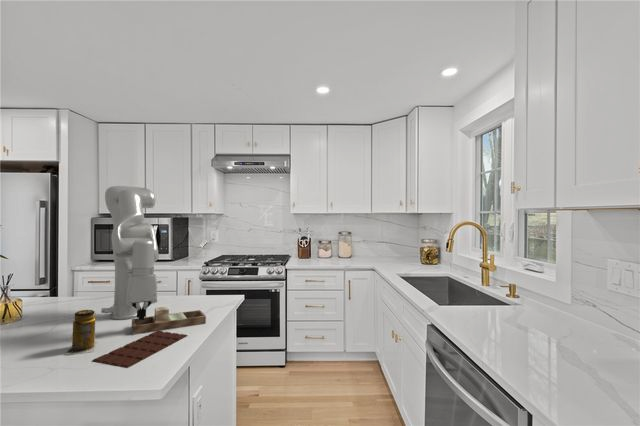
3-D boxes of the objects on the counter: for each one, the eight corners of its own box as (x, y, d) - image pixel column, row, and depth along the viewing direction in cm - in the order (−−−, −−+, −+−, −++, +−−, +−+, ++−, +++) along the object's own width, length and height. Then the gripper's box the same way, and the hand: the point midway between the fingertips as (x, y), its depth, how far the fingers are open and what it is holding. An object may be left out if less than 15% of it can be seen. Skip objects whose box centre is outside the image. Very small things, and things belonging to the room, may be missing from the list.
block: (155, 321, 127) (156, 310, 127) (154, 317, 131) (154, 307, 131) (168, 319, 129) (168, 309, 129) (166, 316, 133) (167, 306, 133)
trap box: (133, 334, 120) (133, 326, 120) (131, 326, 129) (131, 318, 129) (205, 323, 135) (205, 316, 135) (199, 316, 143) (200, 310, 143)
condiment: (97, 342, 113) (98, 307, 113) (93, 352, 105) (94, 314, 105) (71, 345, 109) (72, 309, 109) (65, 355, 102) (66, 317, 102)
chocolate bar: (157, 332, 124) (157, 329, 124) (187, 337, 121) (187, 334, 121) (91, 362, 98) (91, 359, 98) (127, 369, 95) (127, 366, 95)
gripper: (120, 274, 119) (118, 325, 119) (165, 272, 127) (163, 319, 127) (119, 271, 125) (118, 319, 125) (162, 269, 134) (161, 313, 133)
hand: (141, 319), depth 126 cm, fingers closed
